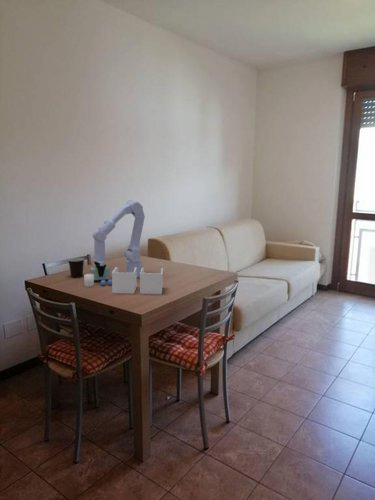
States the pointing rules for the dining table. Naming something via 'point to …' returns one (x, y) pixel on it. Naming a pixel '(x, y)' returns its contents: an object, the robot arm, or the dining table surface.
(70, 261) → the coffee mug
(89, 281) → the white domed capsule
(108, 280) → the marble
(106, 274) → the green tapered block
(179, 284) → the dining table surface
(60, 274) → the dining table surface
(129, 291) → the storage container
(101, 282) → the marble
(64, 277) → the dining table surface
